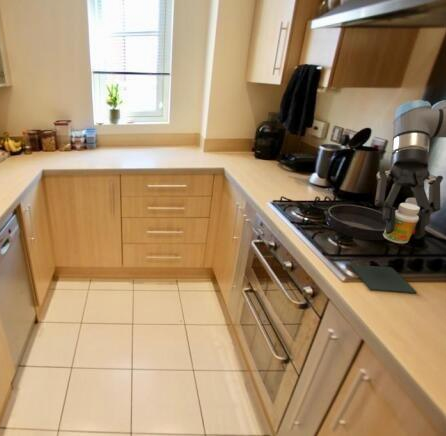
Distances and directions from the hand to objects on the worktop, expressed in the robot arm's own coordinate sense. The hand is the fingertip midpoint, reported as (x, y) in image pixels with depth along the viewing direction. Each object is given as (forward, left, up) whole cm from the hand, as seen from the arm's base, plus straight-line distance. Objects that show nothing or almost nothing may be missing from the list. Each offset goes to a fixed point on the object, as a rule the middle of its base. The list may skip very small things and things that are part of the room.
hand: (404, 234), depth 80 cm
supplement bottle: (-1, -4, -4) cm, 5 cm away
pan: (-9, -34, -16) cm, 38 cm away
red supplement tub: (-25, -33, -16) cm, 44 cm away
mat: (-1, -2, -16) cm, 16 cm away
